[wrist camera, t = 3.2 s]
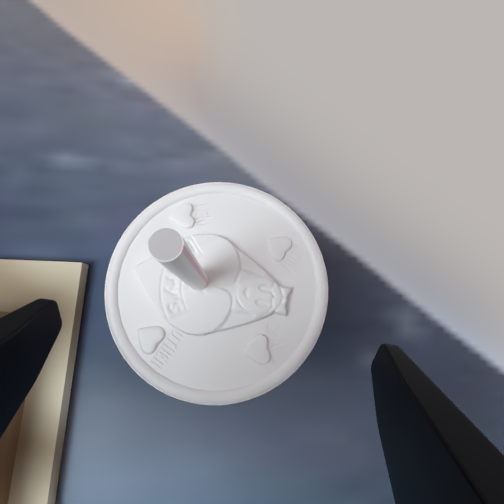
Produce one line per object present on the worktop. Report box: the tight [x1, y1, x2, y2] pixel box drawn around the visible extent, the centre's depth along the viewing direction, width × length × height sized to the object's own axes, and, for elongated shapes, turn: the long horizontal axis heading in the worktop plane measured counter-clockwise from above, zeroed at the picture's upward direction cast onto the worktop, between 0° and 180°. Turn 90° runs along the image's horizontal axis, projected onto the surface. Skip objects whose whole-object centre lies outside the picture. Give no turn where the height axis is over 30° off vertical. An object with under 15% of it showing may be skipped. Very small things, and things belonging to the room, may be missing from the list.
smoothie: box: [105, 182, 328, 405], centre depth 12 cm, size 6×6×14 cm
